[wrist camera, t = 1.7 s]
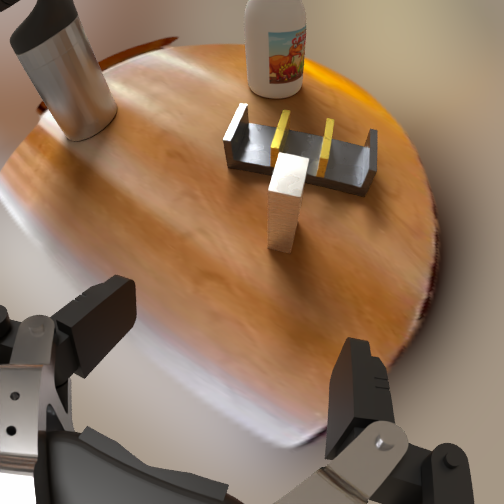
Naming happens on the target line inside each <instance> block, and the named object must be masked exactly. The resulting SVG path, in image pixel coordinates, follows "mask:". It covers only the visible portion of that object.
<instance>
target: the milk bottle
mask: <svg viewBox="0 0 504 504" xmlns="http://www.w3.org/2000/svg"><path fill="white" fill-rule="evenodd" d="M244 31H245V49H246V64H247V78H248V85H249V87H250V89H251V90H252V91H253V92H254V93H256V94H257V95H260V96H262V97H266V98H275V99H278V98H286V97H290V96H292V95H294V94H296V93H297V92H298V91H299V90H300V88H301V86H302V79H303V68H304V55H305V40H306V13H305V9H304V6H303V3H302V1H301V0H248V2H247V5H246V8H245V14H244Z"/></svg>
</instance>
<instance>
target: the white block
mask: <svg viewBox="0 0 504 504" xmlns="http://www.w3.org/2000/svg"><path fill="white" fill-rule="evenodd" d="M308 163H309V158H305V157H300V156H295V155H290V154H285V153H280V152H279V155H278V159H277V162H276V165H275V169H274V172H273V175H272V179H271V182H270V185H269V189H268V249H273V250H277V251H281V252H285V253H291V249H292V245H293V241H294V236H295V232H296V228H297V223H298V219H299V213H300V208H301V202H302V197H303V191H304V186H305V180H306V175H307V169H308Z"/></svg>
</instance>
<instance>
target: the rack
mask: <svg viewBox="0 0 504 504" xmlns="http://www.w3.org/2000/svg"><path fill="white" fill-rule="evenodd" d="M289 125H290V111H289V110H284V109H283V111H282V114H281V117H280V120H279V123H278V126H277V128H276V127H270V126H264V125H257V124H251V123H249V120H248V106H247V104H242V103H240V105H239V107H238V109H237V111H236V113H235V115H234V117H233V119H232V122H231V124H230V126H229V128H228V130H227V132H226V134H225V136H224V138H223V143H224V149H225V155H226V160H227V166H228V168H233V169H239V170H245V171H250V172H256V173H261V174H266V175H271V176H272V175H273V172H274V169H275V165H276V162H277V159H278V155H279V152H280V153H285V154H290V155H295V156H300V157H305V158H309V163H308V169H307V175H306V180H305V183H309V184H313V185H318V186H322V187H326V188H331V189H335V190H339V191H343V192H347V193H351V194H355V195H359V196H363V197H365V195H366V193H367V191H368V189H369V187H370V185H371V183H372V181H373V178H374V176H375V174H376V172H377V130H373V129H370V131H369V134H368V137H367V140H366V142H365V145H364V147H363V146H359V145H355V144H351V143H347V142H343V141H339V140H335V139H332V133H333V126H334V119H330V118H327V121H326V126H325V132H324V137H322V136H317V135H312V134H308V133H303V132H298V131H292V130H289Z"/></svg>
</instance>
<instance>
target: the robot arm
mask: <svg viewBox="0 0 504 504" xmlns="http://www.w3.org/2000/svg"><path fill="white" fill-rule="evenodd" d="M18 1H20V0H0V12H2V11H3V10H5V9H7V8H9V7H10V6H12V5H14V4H15V3H16V2H18ZM10 44H11V46H12V48H13V50H14V52H15V53H16V55H17V57H18V59H19V61H20V63H21V64H22V66H23V68H24V70H25V71H26V72H27V74H28V76H29V78H30V79H31V81H32V83H33V85H34V86H35V88H36V90H37V91H38V93H39V95H40V96H41V98H42V100H43V101H44V103H45V104H46V106H47V108H48V109H49V111H50V112H51V114H52V116H53V117H54V119H55V120H56V122H57V123H58V125H59V126H60V128H61V129H62V131H63V132H64V134H65V135H66V137H67V138H68V139H69V140H71V141H81V140H84V139H87V138H89V137H92V136H93V135H95V134H97V133H98V132H100V131H101V130H102V129H104V128H105V127H106V126H107V125H108V124H109V123H110V122H111V120H112V119H113V118H114V116H115V114H116V112H117V105H116V103H115V100H114V98H113V96H112V94H111V92H110V89H109V87H108V85H107V83H106V80H105V78H104V76H103V74H102V71H101V69H100V67H99V64H98V62H97V60H96V57H95V55H94V53H93V50H92V48H91V46H90V43H89V41H88V38H87V36H86V33H85V31H84V29H83V26H82V24H81V21H80V19H79V16H78V13H77V11H76V8H75V6H74V3H73V0H37V4H36V5H35V7H34V9H33V10H32V12H31V13H30V14H29V16H28V17H27V18H26V19H25V20H24V21H23V23H21V25H20V26H19V27H18V28H17V29H16V30H15V31H14V33H13V34H12V36H11V38H10ZM136 315H137V311H136V289H135V282H134V281H133V280H131V279H128V278H125V277H122V276H119V275H114V276H113V277H111V278H110V279H108V280H107V281H106V282H104V283H101V284H98V285H95V286H92V287H90V288H89V289H87V290H86V291H85V292H83V293H82V295H79V296H78V297H76V298H75V300H72V301H71V302H70V303H68V304H67V305H66V306H64V307H63V308H62V309H60V310H59V311H58V312H56V313H55V314H54V315H53V316H51V317H48V316H44V315H35V316H31V317H29V318H27V319H25V320H24V321H23V322H18V321H14V320H10V319H9V316H8V312H7V309H6V308H5V307H4V306H2V305H0V504H244V503H242V502H241V501H239V500H238V499H236V498H235V497H233V496H231V495H229V494H227V489H228V486H229V485H228V484H224V483H221V482H217V481H213V480H210V479H207V478H204V477H201V476H198V475H195V474H192V473H187V472H180V471H174V470H167V469H162V468H156V467H151V466H148V465H146V464H144V463H143V462H142V461H140V460H139V459H138V458H136V457H135V456H134V455H132V454H131V453H130V452H129V451H127V450H126V449H125V448H124V447H122V446H121V445H120V444H119V443H118V442H116V441H114V440H112V439H110V438H108V437H106V436H104V435H103V434H101V433H99V432H97V431H95V430H94V429H91V428H90V427H88V426H87V427H86V428H85V429H84V431H83V432H82V433H78V432H75V431H74V428H73V423H72V404H71V379H70V376H71V375H72V374H73V373H75V374H77V375H79V376H80V377H82V378H84V379H85V378H86V377H87V376H88V374H89V373H90V372H91V371H92V370H93V369H94V368H95V367H96V366H97V365H98V364H99V362H100V361H101V360H102V359H103V358H104V357H105V356H106V355H107V354H108V353H109V352H110V351H111V349H112V348H113V347H114V346H115V345H116V344H117V343H118V342H119V341H120V340H121V339H122V338H123V337H124V336H125V335H126V334H127V333H128V332H129V331H130V329H131V328H132V327H133V325H134V323H135V321H136ZM325 459H330V460H332V461H331V462H330V463H329V464H328V465H327V466H325V467H321V468H320V469H318V470H317V471H316V472H314V473H313V474H312V475H311V476H310V477H308V478H307V479H306V480H305V481H303V482H302V483H301V484H299V485H298V486H297V487H296V488H294V489H293V490H292V491H290V492H289V493H288V494H286V495H285V496H283V497H282V498H281V499H279V500H278V501H277V502H275V503H274V504H367V503H368V501H367V500H368V499H369V500H372V501H375V502H378V503H381V504H474V497H473V489H472V482H471V475H470V469H469V463H468V458H467V456H466V454H465V453H464V451H463V450H462V449H461V448H459V447H458V446H457V445H454V444H451V443H443V444H440V445H438V446H437V447H436V448H435V449H434V450H433V451H430V450H427V449H423V448H420V447H418V446H414V445H412V444H410V443H408V439H407V436H406V434H405V432H404V431H403V430H402V429H401V428H400V427H399V426H397V425H396V424H395V421H394V413H393V406H392V400H391V394H390V391H389V382H388V376H387V371H386V367H385V366H384V364H383V363H382V361H381V360H380V359H379V357H373V356H371V352H370V345H369V342H368V341H365V340H360V339H355V338H350V337H348V338H347V339H346V341H345V343H344V346H343V348H342V350H341V353H340V355H339V357H338V360H337V362H336V364H335V367H334V369H333V372H332V375H331V379H330V386H329V408H328V425H327V439H326V451H325Z"/></svg>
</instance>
